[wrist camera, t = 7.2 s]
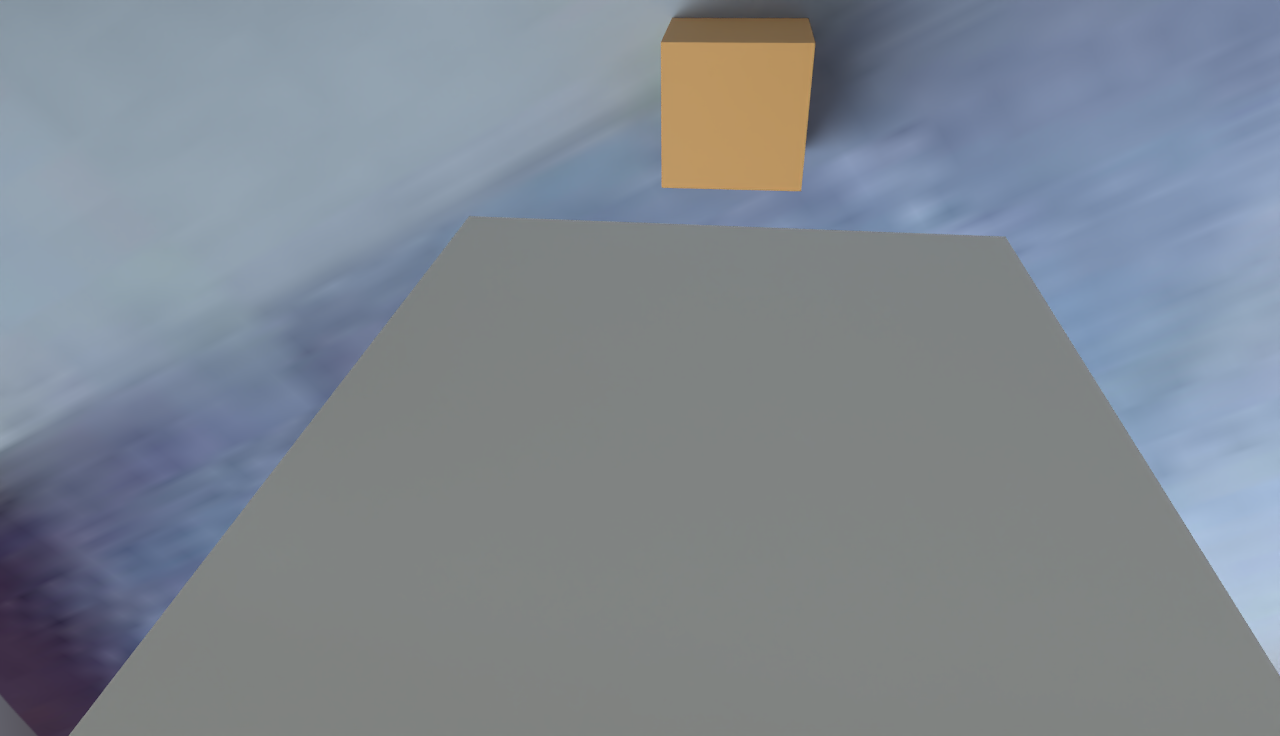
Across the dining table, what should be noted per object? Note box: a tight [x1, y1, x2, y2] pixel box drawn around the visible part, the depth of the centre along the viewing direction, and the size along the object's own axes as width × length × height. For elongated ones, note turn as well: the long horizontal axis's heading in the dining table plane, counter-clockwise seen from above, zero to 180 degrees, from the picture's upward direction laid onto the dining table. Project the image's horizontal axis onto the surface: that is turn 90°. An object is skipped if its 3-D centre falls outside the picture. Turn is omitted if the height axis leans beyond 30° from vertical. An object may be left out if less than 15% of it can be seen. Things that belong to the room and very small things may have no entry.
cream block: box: [69, 216, 1280, 736], centre depth 9 cm, size 7×7×8 cm
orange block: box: [661, 18, 815, 191], centre depth 23 cm, size 4×4×4 cm
